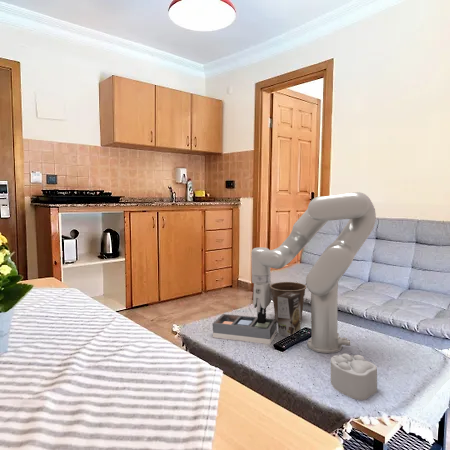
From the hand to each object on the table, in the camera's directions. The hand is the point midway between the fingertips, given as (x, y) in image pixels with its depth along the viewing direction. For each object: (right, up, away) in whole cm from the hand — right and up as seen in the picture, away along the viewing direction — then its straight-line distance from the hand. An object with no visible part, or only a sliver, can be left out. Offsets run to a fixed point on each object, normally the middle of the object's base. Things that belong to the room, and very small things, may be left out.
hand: (261, 322), depth 143 cm
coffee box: (+12, -6, +4) cm, 14 cm away
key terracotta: (-14, -4, +6) cm, 15 cm away
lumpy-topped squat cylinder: (+23, -9, -38) cm, 45 cm away
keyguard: (-7, -4, +3) cm, 8 cm away
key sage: (0, -3, 0) cm, 3 cm away
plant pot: (+14, -4, +19) cm, 24 cm away
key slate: (-7, -3, +3) cm, 8 cm away
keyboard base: (-7, -6, +3) cm, 9 cm away
